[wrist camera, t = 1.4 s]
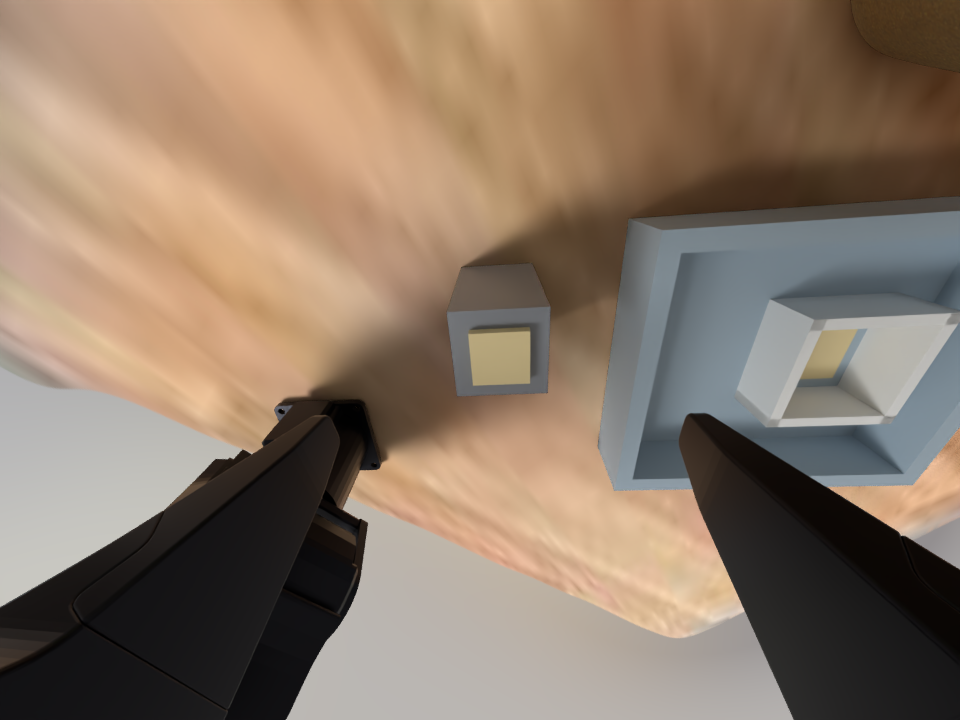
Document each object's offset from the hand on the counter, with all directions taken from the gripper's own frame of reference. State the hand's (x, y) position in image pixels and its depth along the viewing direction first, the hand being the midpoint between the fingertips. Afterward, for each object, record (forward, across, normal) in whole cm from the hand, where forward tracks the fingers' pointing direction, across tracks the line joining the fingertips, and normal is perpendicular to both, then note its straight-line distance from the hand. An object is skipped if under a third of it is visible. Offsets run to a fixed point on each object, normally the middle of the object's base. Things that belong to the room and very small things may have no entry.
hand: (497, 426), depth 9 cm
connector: (+12, +1, +2) cm, 13 cm away
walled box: (+13, -15, +6) cm, 21 cm away
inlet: (+13, -18, +6) cm, 23 cm away
